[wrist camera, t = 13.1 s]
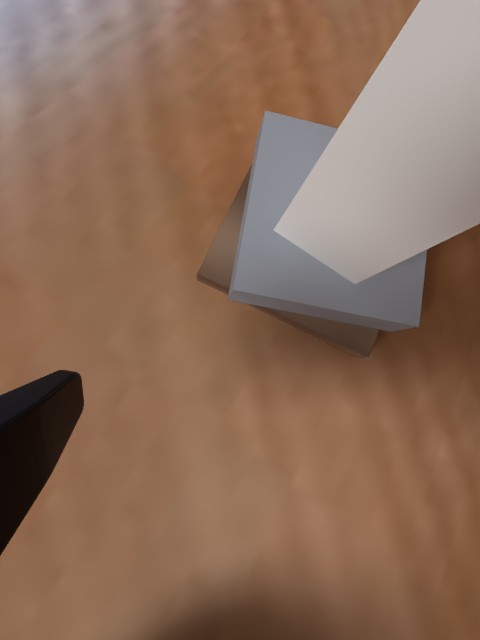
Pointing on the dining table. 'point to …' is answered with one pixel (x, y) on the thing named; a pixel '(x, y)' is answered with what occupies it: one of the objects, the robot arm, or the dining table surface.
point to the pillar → (400, 152)
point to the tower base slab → (219, 276)
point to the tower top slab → (294, 263)
